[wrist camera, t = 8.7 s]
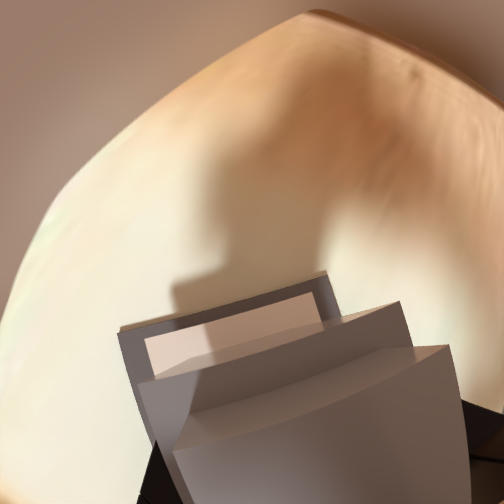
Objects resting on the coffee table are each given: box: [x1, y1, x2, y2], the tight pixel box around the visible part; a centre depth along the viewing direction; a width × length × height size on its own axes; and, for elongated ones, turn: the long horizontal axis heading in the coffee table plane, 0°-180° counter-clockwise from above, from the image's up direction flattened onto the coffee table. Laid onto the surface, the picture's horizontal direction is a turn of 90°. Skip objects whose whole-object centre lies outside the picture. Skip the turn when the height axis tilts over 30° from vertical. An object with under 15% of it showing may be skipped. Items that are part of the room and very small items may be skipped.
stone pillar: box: [137, 301, 471, 504], centre depth 9 cm, size 5×5×13 cm
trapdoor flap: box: [144, 292, 321, 375], centre depth 15 cm, size 14×10×3 cm
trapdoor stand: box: [117, 275, 341, 447], centre depth 17 cm, size 17×15×4 cm
